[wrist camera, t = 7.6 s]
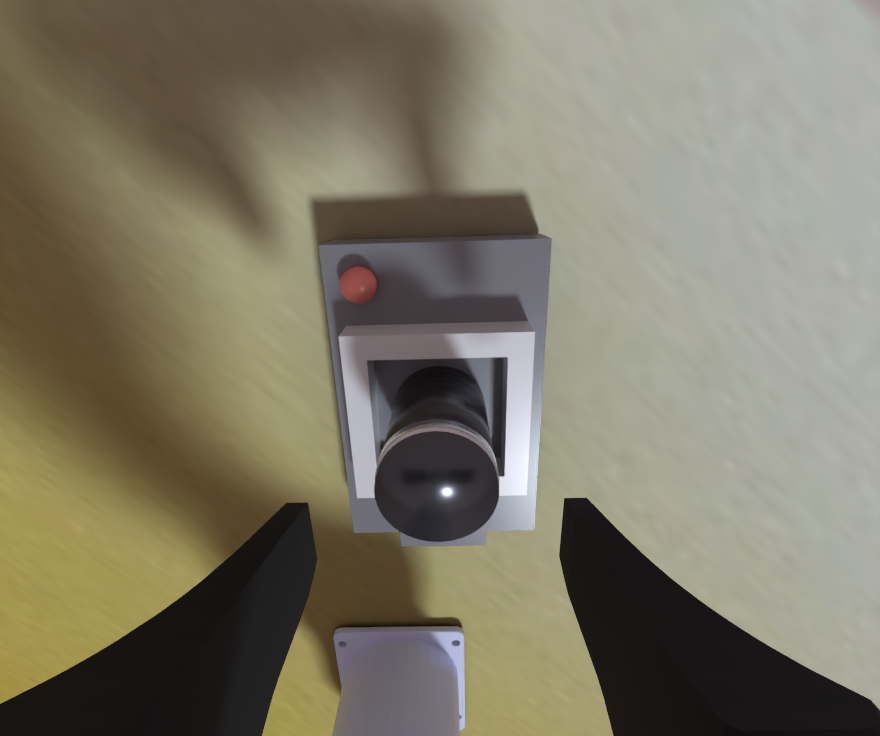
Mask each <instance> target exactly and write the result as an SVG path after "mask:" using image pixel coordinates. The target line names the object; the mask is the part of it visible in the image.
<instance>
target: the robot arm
mask: <svg viewBox="0 0 880 736" xmlns="http://www.w3.org/2000/svg"><path fill="white" fill-rule="evenodd" d="M559 556H560V561H561V565H562V570H563V575H564V579H565V583H566V587H567V591H568V594H569V597H570V600H571V603H572V606H573V609H574V612H575V615H576V618H577V620H578V623H579V626H580V629H581V632H582V634H583V637H584V640H585V643H586V646H587V648H588V651H589V654H590V657H591V660H592V662H593V665H594V668H595V671H596V674H597V677H598V680H599V683H600V686H601V690H602V693H603V696H604V700H605V704H606V708H607V712H608V715H609V719H610V723H611V727H612V731H613V735H614V736H880V710H879V709H878V708H877V707H876V706H875V705H874V704H873V702H872V701H871V700H870V699H868V698H866V697H864V696H862V695H860V694H858V693H856V692H854V691H852V690H850V689H848V688H846V687H844V686H842V685H840V684H838V683H836V682H834V681H832V680H830V679H828V678H826V677H824V676H822V675H820V674H818V673H816V672H814V671H812V670H810V669H808V668H806V667H805V666H803V665H801V664H799V663H797V662H796V661H794V660H792V659H790V658H789V657H787V656H785V655H783V654H782V653H780V652H778V651H776V650H775V649H773V648H771V647H769V646H768V645H766V644H764V643H763V642H761V641H759V640H758V639H756V638H755V637H753V636H751V635H750V634H748V633H747V632H745V631H744V630H742V629H740V628H739V627H737V626H736V625H734V624H733V623H731V622H730V621H728V620H727V619H725V618H724V617H722V616H721V615H719V614H718V613H716V612H715V611H713V610H712V609H711V608H709V607H708V606H706V605H705V604H704V603H702V602H701V601H700V600H698V599H697V598H696V597H694V596H693V595H692V594H690V593H689V592H688V591H686V590H685V589H684V588H682V587H681V586H680V585H679V584H677V583H676V582H675V581H673V580H672V579H671V578H670V577H669V576H667V575H666V574H665V573H664V572H663V571H662V570H660V569H659V568H658V567H657V566H656V565H655V564H653V563H652V562H651V561H650V560H649V559H648V558H647V557H646V556H644V555H643V554H642V553H641V552H640V551H639V550H638V549H637V548H636V547H635V546H634V545H633V544H632V543H631V542H630V541H629V540H628V539H627V538H625V537H624V536H623V535H622V534H621V533H620V532H619V531H618V530H617V529H616V528H615V527H614V526H613V524H612V523H611V522H610V521H609V520H608V519H607V518H606V517H605V516H604V515H603V514H602V513H601V512H600V511H599V510H598V509H597V508H596V507H595V506H594V505H593V504H592V503H591V502H590V501H589V500H588V499H587V498H564V509H563V520H562V532H561V543H560V555H559ZM316 562H317V555H316V549H315V543H314V537H313V531H312V525H311V519H310V513H309V507H308V503H286V504H285V505H284V506H283V507H282V508H281V509H280V510H279V511H278V512H277V513H276V514H275V515H274V516H272V517H271V518H270V519H269V520H268V521H267V522H266V523H265V524H264V525H263V526H262V527H261V528H260V529H259V530H258V531H257V532H256V533H255V534H254V535H253V536H252V537H251V538H250V539H249V540H248V541H246V542H245V543H244V544H243V545H242V546H241V547H240V548H239V549H238V550H237V551H236V552H235V553H234V554H233V555H231V556H230V557H229V558H228V559H227V560H226V561H224V562H223V563H222V564H221V565H220V566H219V567H217V568H216V569H215V570H214V571H213V572H212V573H210V574H209V575H208V576H207V577H206V578H205V579H204V580H202V581H201V582H200V583H199V584H197V585H196V586H195V587H194V588H192V589H191V590H190V591H188V592H187V593H186V594H185V595H183V596H182V597H181V598H179V599H178V600H177V601H175V602H174V603H172V604H171V605H170V606H168V607H167V608H166V609H164V610H163V611H161V612H160V613H159V614H157V615H156V616H154V617H153V618H151V619H150V620H148V621H147V622H145V623H144V624H142V625H140V626H139V627H137V628H136V629H134V630H133V631H131V632H130V633H128V634H127V635H125V636H124V637H122V638H121V639H119V640H118V641H116V642H114V643H113V644H111V645H109V646H108V647H106V648H104V649H103V650H101V651H99V652H98V653H96V654H94V655H93V656H91V657H89V658H87V659H86V660H84V661H82V662H80V663H78V664H77V665H75V666H73V667H71V668H70V669H68V670H66V671H64V672H62V673H60V674H59V675H57V676H55V677H53V678H51V679H49V680H47V681H45V682H43V683H41V684H39V685H37V686H35V687H33V688H31V689H29V690H27V691H25V692H23V693H21V694H19V695H17V696H15V697H13V698H11V699H9V700H7V701H5V702H3V703H1V704H0V736H262V733H263V729H264V725H265V722H266V718H267V714H268V710H269V707H270V703H271V699H272V696H273V693H274V690H275V687H276V684H277V681H278V678H279V675H280V672H281V670H282V667H283V664H284V662H285V659H286V656H287V653H288V651H289V648H290V645H291V643H292V640H293V637H294V635H295V632H296V629H297V626H298V624H299V621H300V618H301V615H302V613H303V610H304V607H305V604H306V602H307V599H308V596H309V592H310V588H311V584H312V580H313V576H314V571H315V567H316ZM333 638H334V645H335V651H336V657H337V663H338V670H339V676H340V682H341V688H342V690H341V695H340V700H339V705H338V709H337V714H336V719H335V724H334V729H333V734H332V736H460V731H461V730H463V729H464V728H465V677H464V631H463V629H462V628H460V627H458V626H427V627H343V628H338V629H336V630H335V633H334V637H333Z"/></svg>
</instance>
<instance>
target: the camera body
mask: <svg viewBox="0 0 880 736" xmlns="http://www.w3.org/2000/svg"><path fill="white" fill-rule="evenodd" d="M318 246H319V254H320V262H321V271H322V279H323V287H324V295H325V303H326V311H327V319H328V327H329V336H330V344H331V352H332V360H333V368H334V376H335V384H336V392H337V401H338V409H339V417H340V425H341V433H342V441H343V449H344V457H345V466H346V474H347V482H348V490H349V498H350V506H351V514H352V522H353V530H354V533H381V532H400V531H398V530H397V529H395V528H394V527H393V526H392V525H391V524H389V523H388V522H387V520H386V519H385V518H384V517H383V515H382V514H381V512H380V510H379V508H378V506H377V503H376V500H375V494H374V484H375V473H376V468H377V464H378V460H379V457H380V454H381V451H382V449H383V447H384V443H385V439H386V435H387V431H388V426H389V422H390V418H391V414H392V410H393V406H394V402H395V398H396V395H397V392H398V390H399V388H400V386H401V385H402V383H403V382H404V381H405V380H406V379H407V378H408V377H409V376H410V375H412V374H413V373H415V372H416V371H419V370H421V369H423V368H427V367H432V366H448V367H453V368H456V369H458V370H461V371H463V372H464V373H466V374H468V375H469V376H470V377H471V378H472V379H473V380H474V381H475V382H476V383H477V384H478V386H479V387H480V389H481V391H482V393H483V396H484V401H485V407H486V413H487V418H488V424H489V430H490V436H491V442H492V448H493V453H494V455H495V458H496V463H497V468H498V474H499V499H498V503H497V506H496V509H495V511H494V513H493V514H492V516H491V517H490V519H489V520H488V521H487V522H486V523H485V524H484V525H483V526H482V527H481V528H480V529H478V530H477V531H475V532H474V533H472V534H470V535H468V536H466V537H463V538H460V539H457V540H453V541H446V542H429V541H423V540H419V539H415V538H412V537H410V536H407V535H405V534H403V533H401V532H400V537H401V547H409V546H474V545H486V531H507V530H534V523H535V506H536V489H537V473H538V456H539V439H540V423H541V406H542V389H543V373H544V356H545V339H546V323H547V306H548V289H549V273H550V256H551V238H549V237H547V236H545V235H542V234H522V235H487V236H452V237H416V238H381V239H346V240H329V241H327V242H325V243H322V244H320V245H318Z"/></svg>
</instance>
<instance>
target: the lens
mask: <svg viewBox="0 0 880 736" xmlns="http://www.w3.org/2000/svg"><path fill="white" fill-rule="evenodd" d="M374 494H375V500H376V503H377V506H378V508H379V510H380V512H381V514H382V515H383V517H384V518H385V519H386V520H387V522H388V523H389V524H391V525H392V526H393V527H394V528H395V529H397V530H398V531H400V532H401V533H403V534H405V535H407V536H410V537H412V538H415V539H419V540H423V541H429V542H446V541H453V540H457V539H460V538H463V537H466V536H468V535H470V534H472V533H474V532H475V531H477V530H478V529H480V528H481V527H482V526H483V525H484V524H485V523H486V522H487V521H488V520H489V519H490V517H491V516H492V514H493V513H494V511H495V509H496V506H497V503H498V499H499V474H498V468H497V463H496V458H495V455H494V453H493V448H492V442H491V436H490V430H489V424H488V418H487V413H486V407H485V401H484V396H483V393H482V391H481V389H480V387H479V386H478V384H477V383H476V382H475V381H474V380H473V379H472V378H471V377H470V376H469V375H468V374H466V373H464V372H463V371H461V370H458V369H456V368H453V367H448V366H432V367H427V368H423V369H421V370H419V371H416V372H415V373H413V374H412V375H410V376H409V377H408V378H407V379H406V380H405V381H404V382H403V383H402V385H401V386H400V388H399V390H398V392H397V395H396V398H395V402H394V406H393V410H392V414H391V418H390V422H389V426H388V431H387V435H386V439H385V443H384V447H383V449H382V451H381V454H380V457H379V460H378V464H377V468H376V473H375V484H374Z"/></svg>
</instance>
